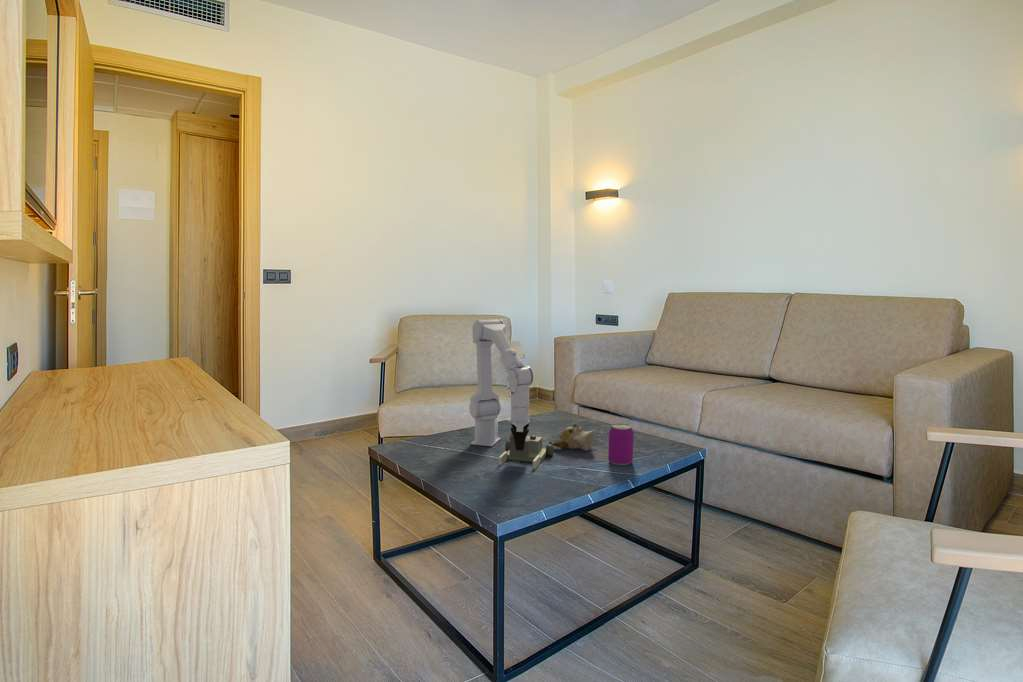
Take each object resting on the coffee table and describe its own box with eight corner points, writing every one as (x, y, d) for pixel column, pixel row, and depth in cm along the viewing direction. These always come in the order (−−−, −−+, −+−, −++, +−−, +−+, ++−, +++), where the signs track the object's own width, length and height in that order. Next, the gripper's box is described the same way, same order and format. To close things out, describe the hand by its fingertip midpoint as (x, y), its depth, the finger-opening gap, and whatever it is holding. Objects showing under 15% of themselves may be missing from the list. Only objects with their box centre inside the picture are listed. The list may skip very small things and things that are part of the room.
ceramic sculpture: (588, 429, 187) (547, 426, 194) (589, 455, 188) (548, 451, 195) (599, 422, 196) (559, 419, 203) (600, 447, 197) (560, 443, 204)
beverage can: (637, 463, 181) (639, 427, 179) (618, 467, 177) (620, 430, 175) (621, 456, 187) (622, 421, 186) (603, 460, 183) (604, 424, 182)
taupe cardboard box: (509, 452, 181) (509, 433, 181) (528, 452, 181) (528, 433, 180) (509, 457, 177) (509, 436, 177) (528, 457, 177) (528, 436, 177)
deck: (508, 448, 194) (508, 431, 194) (553, 453, 190) (554, 435, 189) (492, 464, 179) (492, 444, 179) (541, 469, 175) (541, 450, 174)
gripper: (507, 400, 185) (507, 440, 186) (506, 411, 170) (506, 455, 172) (529, 400, 185) (529, 440, 186) (530, 411, 170) (529, 455, 172)
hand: (519, 447), depth 179 cm, fingers closed on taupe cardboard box, 4 cm apart
